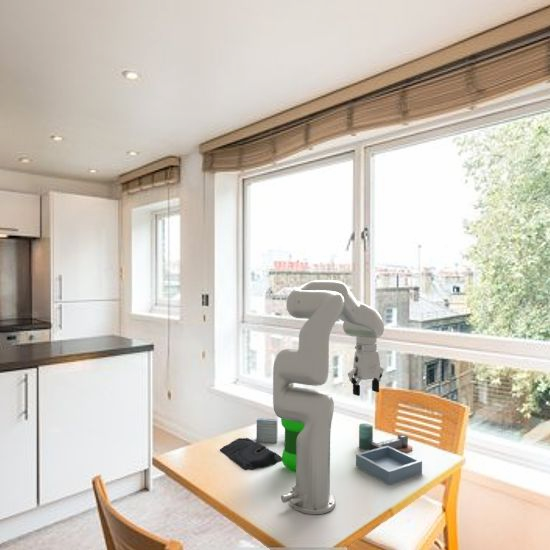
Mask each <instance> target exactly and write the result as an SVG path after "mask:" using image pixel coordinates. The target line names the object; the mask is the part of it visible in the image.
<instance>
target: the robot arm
mask: <svg viewBox="0 0 550 550" xmlns="http://www.w3.org/2000/svg"><path fill="white" fill-rule="evenodd" d="M285 304H286V311H287V312H288V314H289V315H290V316H291V317H293V318H295V319H307V320H306V322H305V323H304V324H303V325H302V327H300V328H301V329H300V331H299V334H298V349H295V348H284V349H282V350H280V351H279V352H277V355H276V356H275V359H274V362H273V368H272V369H273V371H272V391H273V392H272V405H273V411H274V414H275V415H276V416H277V418H279V419H281V418H282V419H286V420H290V421H295V422H299V423H303V424H304V425H305V427H304V428H303V429H302V431H301V432H300V433H299V434H298V436H297V440H296V472H295V485H294V486H292V491H290V492H288V493H285V494H281V496H280V500H281V502H282V503H283V504H285V503H288V502H290V503H289V504H290V505H291V506H292V508H294V509H295V510H296V511H298V512H300V513H303V514H308V515H323V514H327V513H329V512H330V511H332V510H333V509H334V508H335V506H336V498H335V496H334V495H333V494H332V493H331V491H330V490H331V489H330V488H331V487H330V486H331V429H332V423H333V422H332V421H333V416H334V411H335V402H334V399H333V397H332V396H331V395H330V394H329V393H327V392H325V391H323V390H319V389H313V388H307V387H299V386H294V384H299V385H306V386H315V387H317V386H323V385H324V384H325V383H326V382H327V381H328V379H329V378H328V377H329V372H330V371H329V370H330V369H329V364H330V361H329V359H330V352H329V351H330V347H329V346H330V335H331V331H332V329H333V327H334V326H335V324H336V323H337V320H341V322H343V323H342V329H343V332H344V334H346V335H347V336H349V337H355V338H356V339H355V340H356V343H355V345H354V349H355V352H354V357H353V363H352V365H353V366H352V369H351V370H350V371H349V372H348V373H347V377H348V378H349V382H351V384H352V394H353V396H354V395H355V396H357V397H359V396H360V395H361V385H360V383H361V381H363V380H364V381H365V380H371V391H373V392H376V393H379V392H380V382H381V379H382V377H383V374H384V371H385V369H384V368H383V367H381V359H380V355H379V350H377V342H378V341H377V340H378V339H379V338H380V337H382V335H383V334H384V330H385V324H384V320H383V318H382V317H381V315H380V313H379V312H378V311H377V310H376V309H375V308H373V307H371V306H369V305H367V304H365V303H362V302H360V301H358V300H357V299H356V298H355V296H354V295H353V293H352V291H350V289H349V287H348V286H347V285H346V283H344V282H342V281H339V280H312V281H311V280H310V281H308V282H306V283H303V284H302V285H300V286H298V287H297V288H295V289H294V290H292V291H290V293H289V295H288V296H287V299H286V303H285Z"/></svg>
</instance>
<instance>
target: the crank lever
mask: <svg viewBox="0 0 550 550" xmlns="http://www.w3.org/2000/svg"><path fill="white" fill-rule="evenodd" d="M408 438H409V436H408V435H406V434H403V433H401V434H400V433H399V434H397V437H396V438H395V437H394V438H391V439H388V440H385V441H384V440H383V441H380V442H374V441H373V442H371V443H370V450H373V449H377V448H381V447H384V446H390V447H392V448H394V449H396V450H397V449H401V448H408V445H409V443H408V442H409V439H408ZM370 450H369V451H370Z"/></svg>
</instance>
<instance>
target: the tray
mask: <svg viewBox="0 0 550 550" xmlns="http://www.w3.org/2000/svg"><path fill="white" fill-rule="evenodd" d="M355 467H356V468H358V469H360V470H362V471H363V472H365V473H367V474H369V475H371V476H372V477H374V478H376V479H377V480H379V481H381V482H383V483H384V484H386V485H389V486H390V485H393V484H395V483H398V482H402V481H405V480H408V479H411V478H414V477H416V476H419V475H422V474H423V461H422V460H420V459H418V458H417V457H416V458H415V457H414V456H412V455H409V454H408V453H406V452H401V451H398V450H396V449H394V448H392V447H390V446H384V447H381V448H377V449H373V450H366V451H364V452H359V453H356V454H355Z"/></svg>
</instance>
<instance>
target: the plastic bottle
mask: <svg viewBox="0 0 550 550" xmlns="http://www.w3.org/2000/svg"><path fill="white" fill-rule="evenodd" d="M280 419H281V420H280V423H281V426H282V427H283V428H284V449H283V451H282V455H281V457H282V460H281V462H282V464H283V466H284V467H286V469H288V471H290V472H291V473H296V440H297V436H298V434H299V433H300V432H301V431H302V429H303V428H304V427H305V425H304V424H303V423H299V422H295V421H290V420H286V419H282V418H280Z"/></svg>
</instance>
